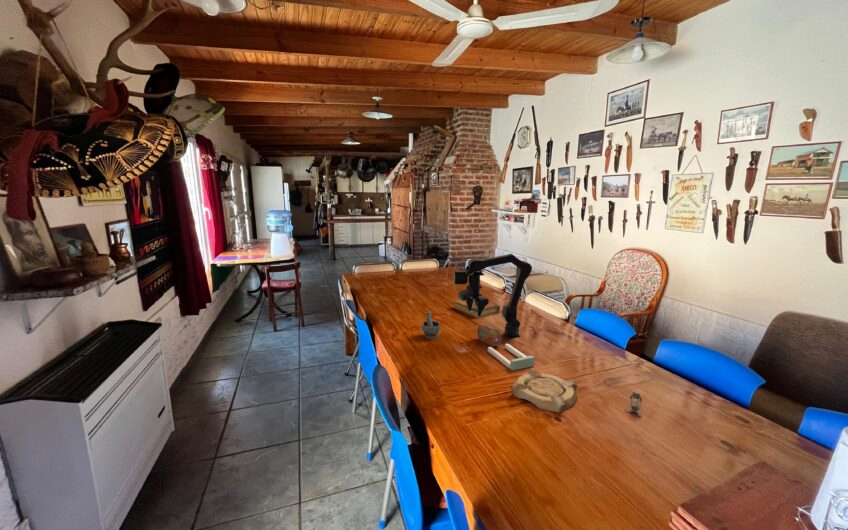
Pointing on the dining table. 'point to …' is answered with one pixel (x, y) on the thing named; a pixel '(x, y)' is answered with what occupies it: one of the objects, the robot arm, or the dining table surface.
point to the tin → (489, 335)
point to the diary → (487, 311)
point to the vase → (635, 403)
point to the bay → (515, 363)
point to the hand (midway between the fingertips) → (474, 313)
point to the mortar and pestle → (430, 327)
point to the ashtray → (546, 391)
